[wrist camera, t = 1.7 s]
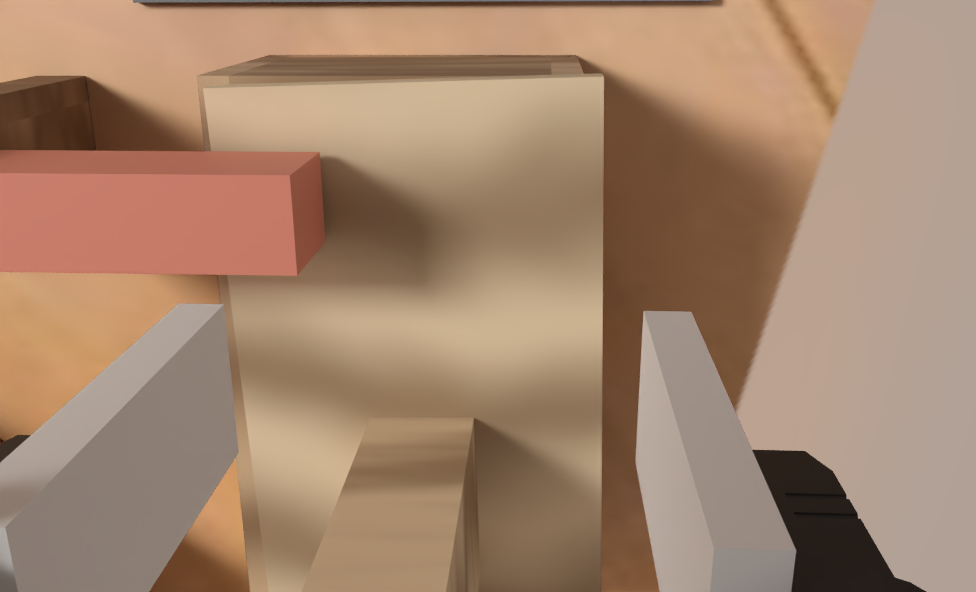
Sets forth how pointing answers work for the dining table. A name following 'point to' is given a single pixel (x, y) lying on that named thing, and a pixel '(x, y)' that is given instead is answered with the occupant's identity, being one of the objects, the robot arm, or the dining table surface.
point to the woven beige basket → (67, 126)
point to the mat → (376, 0)
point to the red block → (160, 212)
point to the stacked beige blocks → (429, 335)
